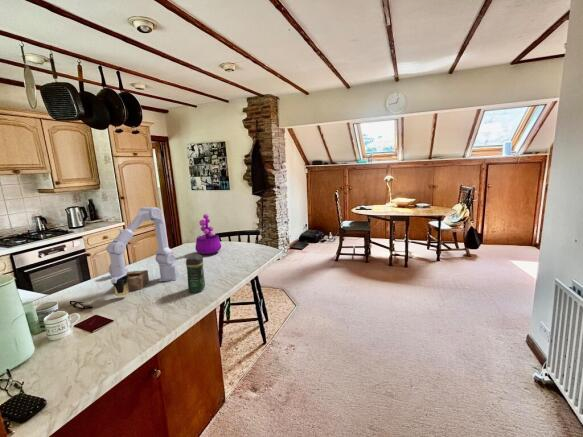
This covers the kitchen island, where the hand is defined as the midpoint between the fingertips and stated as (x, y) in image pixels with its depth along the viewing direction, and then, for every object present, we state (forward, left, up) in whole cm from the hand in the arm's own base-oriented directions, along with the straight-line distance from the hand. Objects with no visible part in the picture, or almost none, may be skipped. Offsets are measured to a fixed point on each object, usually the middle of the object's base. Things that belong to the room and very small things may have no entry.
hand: (122, 291), depth 146 cm
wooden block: (0, 0, -1) cm, 1 cm away
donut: (+16, -34, -4) cm, 38 cm away
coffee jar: (-36, -2, -4) cm, 36 cm away
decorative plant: (-34, -70, -4) cm, 78 cm away
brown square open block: (0, -15, -3) cm, 15 cm away
